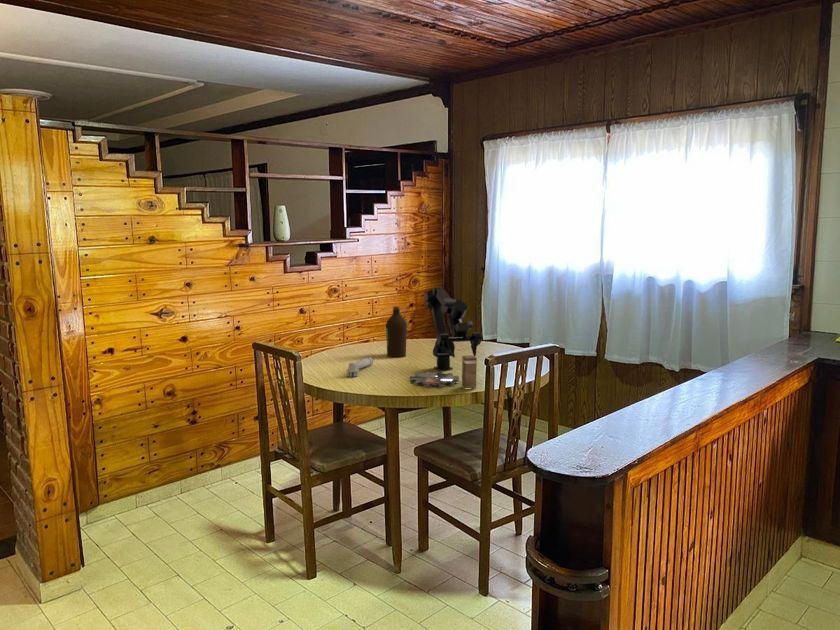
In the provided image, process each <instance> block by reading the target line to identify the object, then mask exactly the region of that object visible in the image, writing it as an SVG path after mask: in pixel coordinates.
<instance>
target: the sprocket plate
mask: <svg viewBox="0 0 840 630" xmlns="http://www.w3.org/2000/svg"><path fill="white" fill-rule="evenodd" d="M409 382H410V383H409ZM454 382H459V383H460V376H459V375H454V374H453V373H452V372H451V373H450V372H448V373H444V372H442V371H437V372H431V371H425V373H419V372H416V373H414V375H412V374H411V375H409V378H408V383H409V384H414V386H415V385H416V387H420V386H423V385H425V386H424V387H425V388H426V387H429V389H431V387H438V388H439V387H443V388H444V386H443V385H446V386H448V385H454V386H455V383H454ZM419 385H420V386H419Z"/></svg>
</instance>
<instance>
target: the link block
mask: <svg viewBox="0 0 840 630" xmlns="http://www.w3.org/2000/svg"><path fill="white" fill-rule="evenodd" d="M477 360H478V357H476V356H474V355H473V354H472V355H471V354H469V355H462V358H461V362H462V363H461V369H462V370H461V387H462V386H463V387H464V388H476V389H477V367H478V365H477V364H478V361H477ZM463 387H462V388H463ZM464 388H463V389H464Z"/></svg>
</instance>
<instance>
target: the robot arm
mask: <svg viewBox="0 0 840 630" xmlns="http://www.w3.org/2000/svg"><path fill="white" fill-rule="evenodd" d="M424 302H425V304H426V308H428V310H430V311H431V315H432V320H433V325H434V328H435V333H436V340H435V341H434V342H435V343H434V346H433V349H432V355H433V356H434V357H435V358H436V366H433V369H435V368H436V369H435V370H438V369H439V370H438V371H440V370H442V371H445V370H444V369H449V370H452V369H451V368H452V367H451V359H450V358H451V357H452V358H455V357H456V356H455V349H456V345H455V342H456V343H461V342H463V343H464V342H470V348H471V352H472V355H473V356H475V357H476V356H477V347H478V346H479V345H481V343H482V342H483V338H484V336H483V333H482V332H472V333H471V336H467V335H468V334H469V332H468V331H470V330H473V328H474V325H473V324H474V323H473V322H472V320H468V321H466V322H463V318H464V317H465V315H466V313H467V310H468V304H467V303H466V302H464V301H462V299H460V298H459V299H458V298H457V299H454V298H452V297H450V295H449V294H448V293H447V292H446V290H445V287H444V286H439V287H438V286H437V287H436V286H435V287H433V288H432V289H431V290H428V291H427V292H426V293H425V294H424ZM443 314H444V315H445V316H446V315H448V316H447V324H448V326H449V333H450V334H448V333H447V328H446V324H445V323H446V322H445V320H444V315H443Z"/></svg>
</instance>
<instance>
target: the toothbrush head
mask: <svg viewBox="0 0 840 630" xmlns="http://www.w3.org/2000/svg"><path fill="white" fill-rule="evenodd" d="M373 364H374V359H373V358H372V357H364V358H363V359H360V360H357V361H355V362H349V364H348V367H347V369H346V372H347V374H346V375H347V377H349V378H350V377H351V378H353V377H358V376H359V372H360V369H362V368H369V367H371V366H372V365H373Z"/></svg>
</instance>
